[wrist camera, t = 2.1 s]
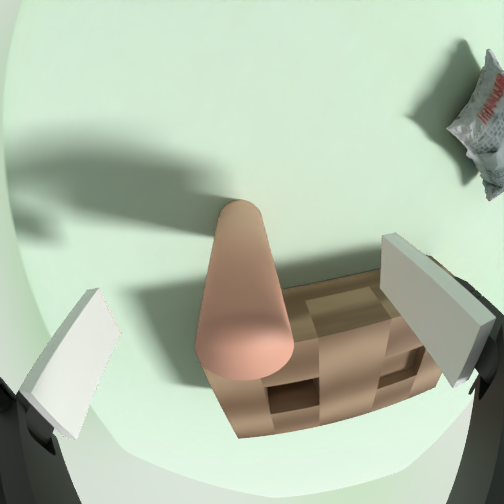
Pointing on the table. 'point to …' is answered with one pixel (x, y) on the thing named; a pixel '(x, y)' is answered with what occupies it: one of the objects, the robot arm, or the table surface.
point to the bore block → (332, 361)
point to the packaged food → (485, 126)
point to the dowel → (242, 301)
